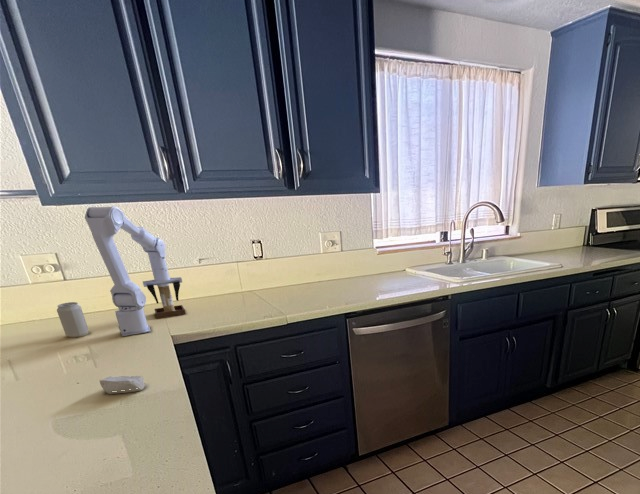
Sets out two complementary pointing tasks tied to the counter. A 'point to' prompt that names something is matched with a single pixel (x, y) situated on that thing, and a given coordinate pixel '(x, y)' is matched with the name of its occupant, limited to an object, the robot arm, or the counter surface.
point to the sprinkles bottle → (166, 297)
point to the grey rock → (122, 384)
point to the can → (72, 319)
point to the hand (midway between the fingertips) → (167, 301)
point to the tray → (170, 312)
